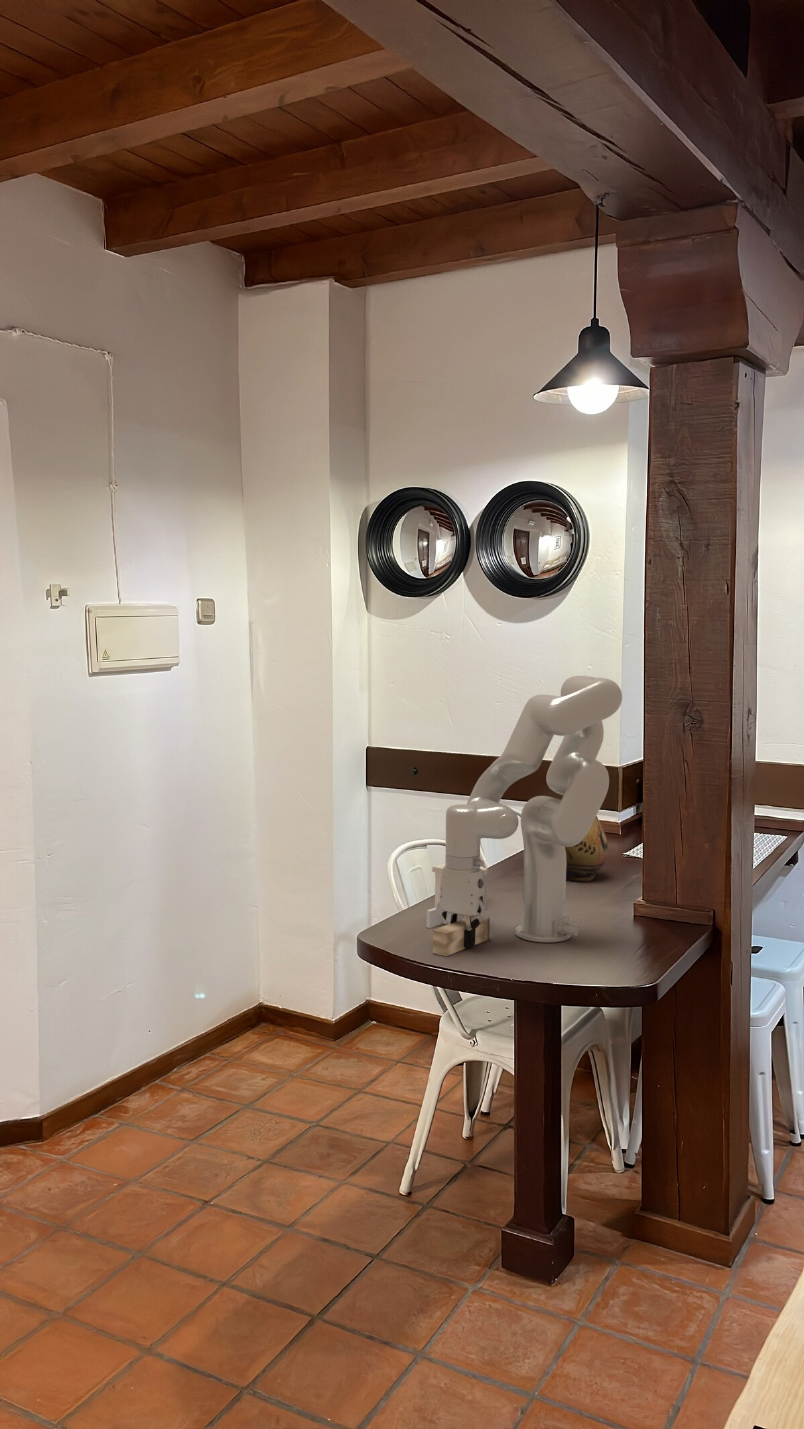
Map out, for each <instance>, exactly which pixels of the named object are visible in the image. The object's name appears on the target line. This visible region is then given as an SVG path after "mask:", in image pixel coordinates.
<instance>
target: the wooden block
mask: <svg viewBox="0 0 804 1429" xmlns="http://www.w3.org/2000/svg"><path fill="white" fill-rule="evenodd" d="M479 916H480V915H477V918H479ZM471 921H472V918H471ZM490 921H491V920H490V917H489V919H488V920H486V921H484V922H482V923H481V924H480V925H479V926H478V927H477V928H476V931H475V945H479V944H481V943H484V942H486V941H488V940H490V930H491V929H490V928H491V927H490V923H491V922H490ZM464 930H466V920H465V919H463V920H460V921H457V922H454V923H452V924H449V925H446V924H445V925H443V926H441V927H437V928H435V929H433V930H432V953H433V954H435V955H438V956H439V955H440V956H443V957H448V956H450V955H453V954H456V953H457V952H461V951H463V950H465V949H467V948H465V947H464ZM475 945H474V946H475Z"/></svg>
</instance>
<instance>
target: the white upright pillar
mask: <svg viewBox="0 0 804 1429" xmlns="http://www.w3.org/2000/svg"><path fill="white" fill-rule="evenodd" d="M444 866H445V862H444V863H439V864H437V865H434V866H432V867H431V870H432V871H431V872H433V873H434V874H435V876H434V907H433V908H430V909H428V910H426V928H427V929H432V928H434V927H437V926H440V925H443V924H444V925H446V920H445V919H444V917H443V916H442V914H441V913H440V912H439V911H437V909H436V906H437V904H438V903H439V901H440V900H439V897H440V883H441V876H442V871H443V867H444ZM480 869H483V871H484V876H485V877H486V875H489V868H487V867H481V866H480ZM477 915H479V913H477ZM463 919H465V916H463V915H459V914H458V921H460V920H463Z"/></svg>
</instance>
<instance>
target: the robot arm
mask: <svg viewBox="0 0 804 1429" xmlns="http://www.w3.org/2000/svg"><path fill="white" fill-rule="evenodd" d="M560 688H561V689H560V695H553V694H536V695H533V696H532V697H530V698H529V699H528V700H527V702H526V703H525V705H524V706H523V709H522V711H521V713H520V716H519V718H518V720H517V723H516V725H515V726H514V729H513V730H512V733H511V735H510V737H509V739H508V742H507V744H506V746H505V748H504V750H503V752H502V753H501V755H500V756H498V758H496V759H495V760H494V761H493V762H492V764H491V765H490V766H489V767H488V768H486V770H485V771H483V773H482V774H481V775H480V776H479V777H478V779H477V782H476V783H475V785H474V786H473V789H472V791H471V794H470V796H469V798H468V800H467V803H466V804H454V805H450V806H449V807H447V809H446V812H445V859H444V860H445V862H444V863H445V866H444V867H443V871H442V876H441V883H440V897H439V900H440V901H439V903H438V904H437V906H436V909H437V911H439V912H440V913H441V914H442V916H443V917H444V919H445V920H446V924H445V926H446V925H449V924H452V923H454V922H457V921H458V914H459V915H463V916H465V920H466V930H464V947H465V948H466V949H469V948H472V947H474V946H475V931H476V928H477V927H478V926H479V925H480V924H481V923H482V922H484V921H486V920H488V919H489V914H488V911H487V909H488V893H487V884H486V883H487V882H486V875H485V876H484V871H483V869H480V867H481V868H483V866H484V865H485V862H484V860H482V859H481V839H490V840H491V839H492V840H503V839H504V840H505V839H507V838H510V837H511V836H512V835H514V834H515V832H516V831H517V830H518V827H519V817H518V815H517V813H516V811H515V810H513V809H512V808H511V807H509V806H508V805H506V804H503V803H500V801H501V799H502V798H503V795H504V794H505V792H506V791H507V790H508V788H509V787H510V786H512V785H513V784H514V783H516V782H517V781H519V780H520V779H523V778H525V777H527V776H529V775H531V774H533V773H535V772H536V771H538V770H539V768H540V766H541V764H542V762H543V759H544V757H545V755H546V753H547V750H548V748H549V746H550V744H551V742H552V740H553V738H554V736H558V737H559V736H560V737H563V738H562V741H561V743H560V745H559V747H558V748H557V751H556V753H555V755H554V756H553V759H552V760H551V763H550V765H549V768H548V770H547V773H546V779H545V780H546V781H545V782H546V784H547V787H548V788H549V789H550V790H552V791H553V792H554V793H556V794H559V795H561V796H562V798H561V799H559V798H555V797H552V796H547V795H537V796H533V797H532V798H529V800H528V801H526V803H525V804H524V805H523V808H522V810H521V813H520V827H521V834H522V841H523V881H522V882H523V883H522V884H523V887H522V888H523V892H522V923H521V924H519V925H517V926H516V927H515V932H514V933H515V935H516V936H517V937H519V938H520V939H523V940H527V941H528V942H529V941H530V942H537V943H558V942H565V941H567V940H570V939H571V937H572V936H575V937H576V936H578V934H579V930H580V927H579V924H575V923H571V922H570V916H569V915H568V916H567V915H566V889H567V888H566V886H567V884H566V883H567V881H566V880H567V879H566V851H565V847H572V846H575V845H577V844H579V843H580V842H581V841H582V840H583V839H584V838H585V836H586V835H587V833H588V832H589V830H590V828H591V826H592V824H593V822H594V820H595V817H596V815H597V816H598V813H599V811H600V809H601V807H602V805H603V803H604V800H605V799H606V796H607V793H608V791H609V788H610V787H609V785H610V777H609V772H608V769H607V768H606V766H605V765H604V763H602V762H601V761H599V760H597V757H598V755H599V752H600V750H601V747H602V745H603V741H604V737H605V736H604V734H605V732H604V724H603V723H604V722H603V721H604V720H605V719H608V718H610V717H611V716H613V715H614V714H615V713H616V712H617V711H618V710H619V708H620V707H621V705H622V701H623V692H622V689H621V687H620V686H619V685H618V684H617V683H616V682H615V681H613V680H612V679H610V678H607V677H606V678H605V677H595V676H588V675H587V676H586V675H574V676H570V677H568V678H566V680H565V681H564V682H563V683H562V686H561V687H560ZM477 913H479V915H480V916H479V918H477ZM471 918H472V921H471Z"/></svg>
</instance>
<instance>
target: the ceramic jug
mask: <svg viewBox="0 0 804 1429" xmlns="http://www.w3.org/2000/svg"><path fill="white" fill-rule="evenodd" d="M607 839H608V838H607V835H606V832H605V829H604V827H603V825H602V823H601V821H600V819H599V817H598V814H597V815H596V817H595V820H594V822H593V824H592V826H591V828H590V830H589V832H588V833H587V835H586V836H585V838H584V839H583V840H582V841H581V842H580V843H579V844H577V845H575V846H572V847H565V851H566V880H568V881H570V882H583V881H584V882H585V881H586V882H589V881H592V880H594V878H595V876H596V874H597V873H598V871H600V869H601V868H603V866H604V865H605V863H606V860H607V857H608V852H609V850H608V849H609V848H608V840H607Z"/></svg>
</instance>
